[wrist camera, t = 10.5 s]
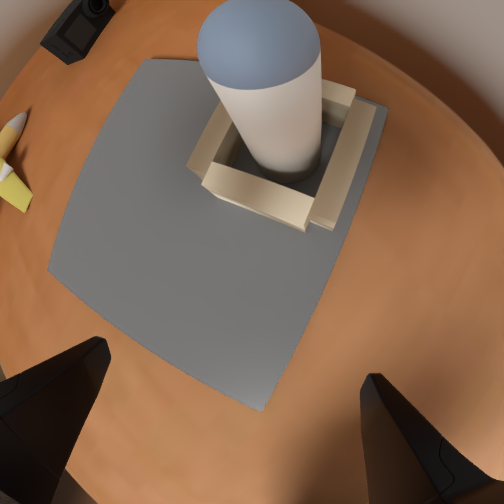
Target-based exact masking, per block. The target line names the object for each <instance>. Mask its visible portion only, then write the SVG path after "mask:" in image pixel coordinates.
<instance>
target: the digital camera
mask: <svg viewBox="0 0 504 504" xmlns="http://www.w3.org/2000/svg"><path fill="white" fill-rule="evenodd" d="M114 14H115V11H114V10H113V9H112V8H111V7H110V5H109V0H73V1H72V2H71V4H69V6H68V7H67V8H66V9H65V10H64V12H63V13H62V14H61V16H60V17H59V18H58V19H57V21H56V22H55V23H54V24H53V26H52V27H51V28H50V30H49V31H48V33H47V34H46V36H45V37H44V38H43V40H42V41H41V43H40V44H41V45H42V46H43V47H44V48H46V49H47V50H48V51H50V52H51V53H52V54H54V55H55V56H56V57H58V58H59V59H60V60H62V61H63V62H64V63H66V64H67V65H69V64H71V63H74V62H77V61H79V60H82V59H84V58H85V57H86V55H87V53H88V52H89V50H90V49H91V47H92V45H93V44H94V42H95V41H96V39H97V38H98V36H99V35H100V33H101V32H102V30H103V29H104V28H105V26H106V25H107V23H108V22H109V21H110V19H111V18H112V16H113V15H114Z"/></svg>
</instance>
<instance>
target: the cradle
mask: <svg viewBox="0 0 504 504" xmlns="http://www.w3.org/2000/svg"><path fill="white" fill-rule="evenodd" d="M321 84H322V122H324V123H327V124H330V125H333V126H336V127H339V128H341V129H342V130H341V132H340V135H339V138H338V140H337V143H336V146H335V148H334V151H333V153H332V156H331V159H330V161H329V164H328V166H327V169H326V171H325V174H324V176H323V179H322V181H321V184H320V186H319V189H318V191H317V194H316V196H315V198H313V197H310V196H308V195H305V194H303V193H300V192H298V191H295V190H292V189H290V188H287V187H284V186H282V185H279V184H276V183H274V182H271V181H268V180H265V179H263V178H260V177H257V176H254V175H251V174H248V173H246V172H243V171H240V170H237V169H234V168H232V167H233V164H234V162H235V160H236V158H237V156H238V154H239V152H240V150H241V148H242V146H243V144H244V140H243V138H242V137H241V135H240V133H239V131H238V129H237V128H236V126H235V124H234V122H233V121H232V119H231V117H230V115H229V114H228V112H227V110H226V108H225V107H224V105H223V103H222V102H221V100H220V102H219V104H218V105H217V107H216V109H215V111H214V113H213V114H212V116H211V118H210V120H209V122H208V124H207V125H206V127H205V129H204V131H203V133H202V135H201V137H200V139H199V141H198V142H197V144H196V146H195V148H194V150H193V152H192V154H191V156H190V158H189V160H188V162H187V164H186V167H188V168H189V169H190V170H191V171H192V172H194V173H195V174H196V175H197V176H198V177H200V178H201V179H202V180H203V181H202V184H201V185H202V186H204V187H205V188H206V189H207V190H209V191H210V192H211V193H212V194H214V195H215V196H216V197H218V198H220V199H222V200H225V201H227V202H230V203H233V204H235V205H238V206H240V207H243V208H245V209H248V210H251V211H253V212H256V213H258V214H261V215H263V216H266V217H268V218H270V219H273V220H275V221H278V222H280V223H283V224H285V225H288V226H290V227H292V228H295V229H297V230H300V231H302V232H304V233H306V230H307V228H308V226H309V223H310V222H312V223H314V224H317V225H319V226H321V227H324V228H326V229H328V230H331V231H333V229H334V227H335V224H336V222H337V219H338V217H339V214H340V212H341V209H342V206H343V204H344V201H345V199H346V196H347V193H348V191H349V188H350V185H351V182H352V180H353V177H354V174H355V171H356V168H357V166H358V163H359V160H360V157H361V154H362V151H363V148H364V145H365V142H366V139H367V136H368V133H369V130H370V127H371V124H372V120H373V117H374V114H375V111H376V106H374V105H371V104H368V103H366V102H363V101H360V100H358V99H355V94H356V89H353V88H350V87H347V86H344V85H341V84H338V83H335V82H331V81H328V80H325V79H321Z"/></svg>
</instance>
